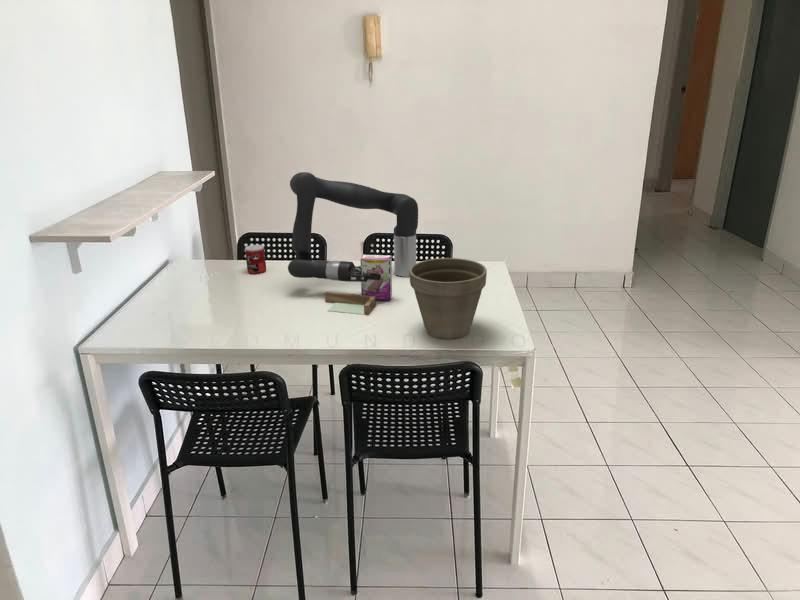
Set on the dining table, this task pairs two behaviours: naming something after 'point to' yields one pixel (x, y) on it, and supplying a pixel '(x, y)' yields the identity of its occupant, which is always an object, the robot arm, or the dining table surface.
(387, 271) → the candy bar box
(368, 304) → the brown l-shaped piece
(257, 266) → the canned food
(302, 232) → the robot arm
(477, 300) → the plant pot
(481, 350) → the dining table surface
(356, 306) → the pad
